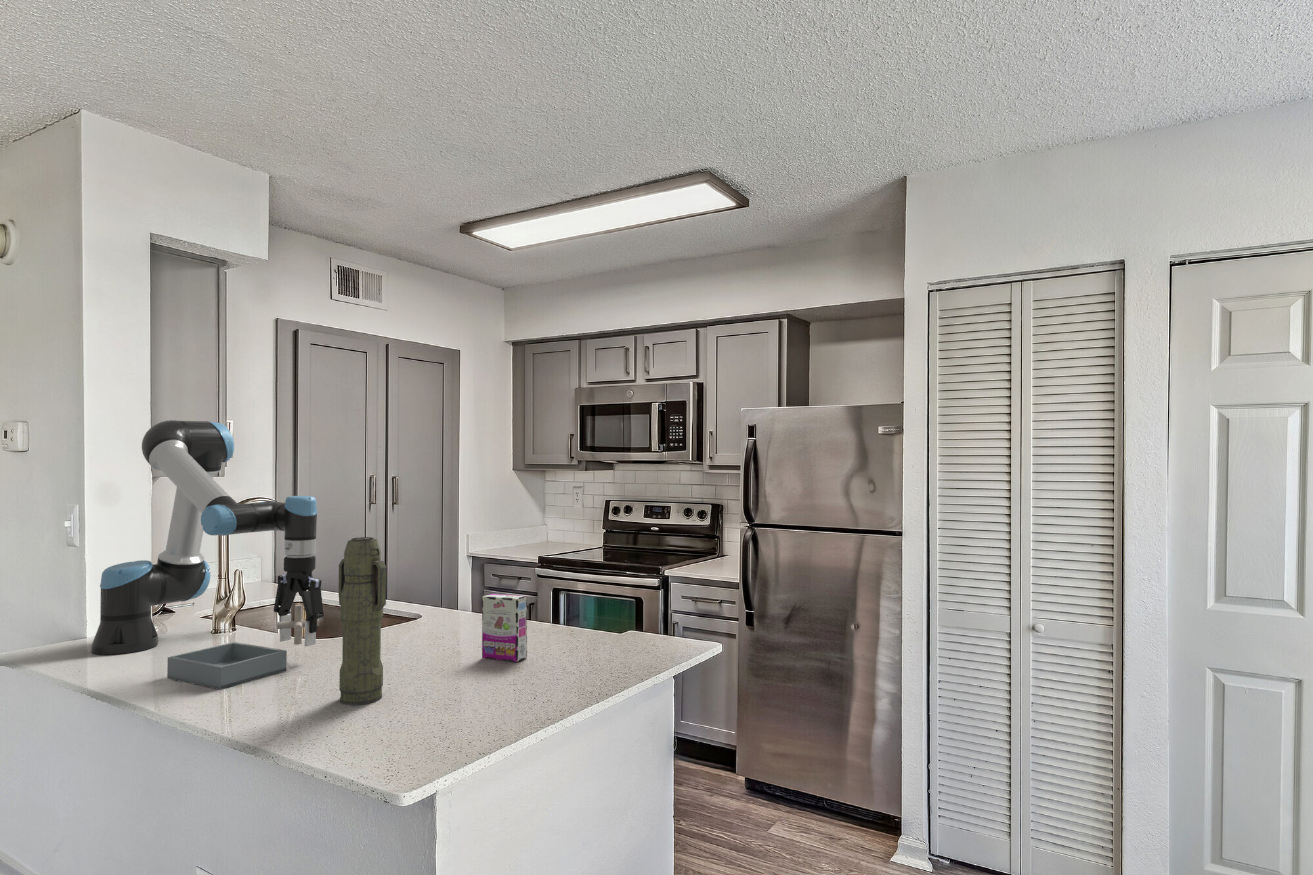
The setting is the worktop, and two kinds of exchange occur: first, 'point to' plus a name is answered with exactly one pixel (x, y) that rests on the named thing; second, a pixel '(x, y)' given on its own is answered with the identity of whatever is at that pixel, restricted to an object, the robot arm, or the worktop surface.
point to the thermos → (361, 621)
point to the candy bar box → (504, 627)
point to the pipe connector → (295, 624)
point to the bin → (226, 665)
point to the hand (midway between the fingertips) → (297, 642)
